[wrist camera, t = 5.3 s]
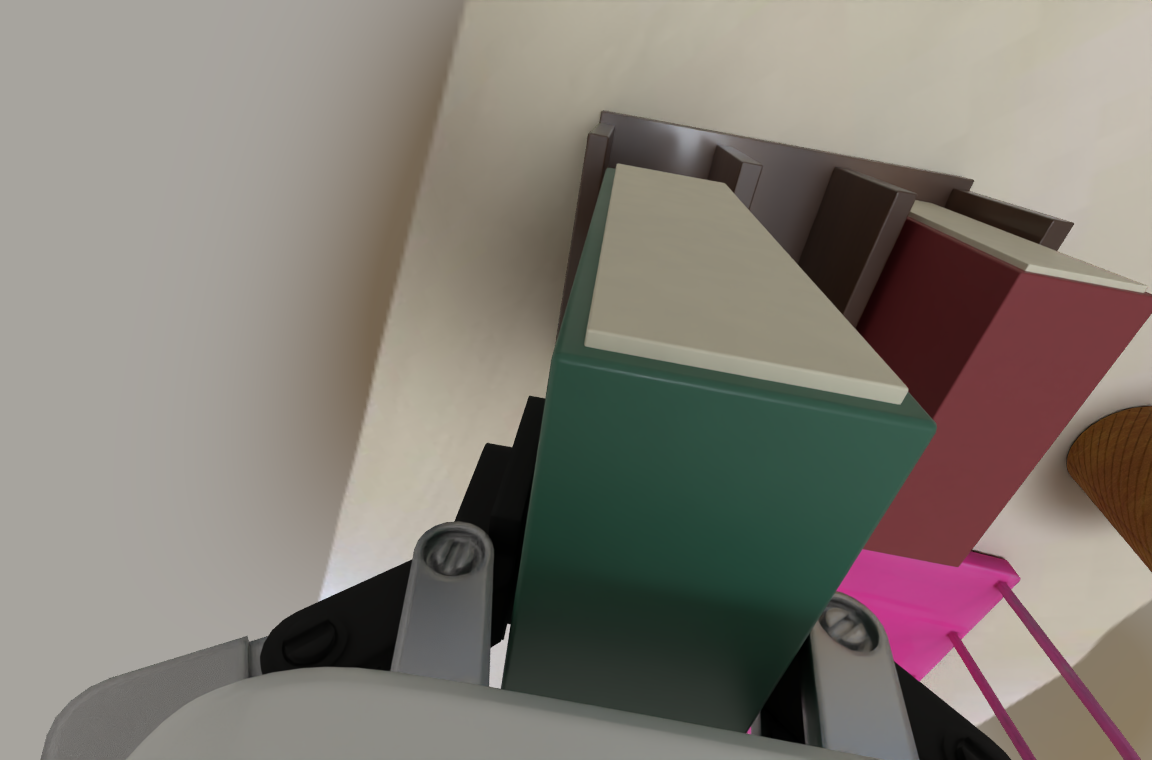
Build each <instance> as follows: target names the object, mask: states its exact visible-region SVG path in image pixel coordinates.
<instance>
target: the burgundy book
mask: <svg viewBox="0 0 1152 760" xmlns="http://www.w3.org/2000/svg"><path fill="white" fill-rule="evenodd" d="M1147 288H1148V286H1146V285H1144V284H1141V283H1138V282H1136V281H1133V280H1131V279H1128V278H1125V277H1123V276H1120V275H1118V274H1115V273H1112V272H1110V271H1107V270H1105V269H1102V268H1099V267H1097V266H1094V265H1092V264H1089V263H1086V262H1084V261H1081V260H1079V259H1076V258H1073V257H1071V256H1068V255H1065V254H1063V253H1060V252H1058V251H1055V250H1052V249H1050V248H1047V247H1045V246H1042V245H1039V244H1037V243H1034V242H1032V241H1029V240H1026V239H1024V238H1021V237H1019V236H1016V235H1013V234H1011V233H1008V232H1006V231H1003V230H1000V229H998V228H995V227H993V226H990V225H987V224H985V223H982V222H980V221H977V220H974V219H972V218H969V217H967V216H964V215H961V214H959V213H956V212H953V211H951V210H948V209H946V208H943V207H940V206H938V205H935V204H933V203H929V202H923V201H918V200H915V202H914V204H913V206H912V209H911V211H910V213H909V215H908V217H907V219H906V221H905V224H904V226H903V228H902V230H901V232H900V234H899V236H898V239H897V241H896V243H895V245H894V247H893V249H892V251H891V254H890V256H889V258H888V260H887V262H886V264H885V267H884V269H883V271H882V273H881V275H880V277H879V279H878V282H877V284H876V286H875V288H874V290H873V292H872V294H871V297H870V299H869V301H868V303H867V305H866V307H865V309H864V312H863V314H862V316H861V318H860V320H859V322H858V324H857V327H856V330H857V331H858V333H859V334H860V335H861V336H862V337H863V338H864V339H865V340H866V341H867V343H868V344H869V345H870V346H871V347H872V348H873V349H874V350H875V352H876V353H877V354H878V355H879V356H880V357H881V358H882V359H883V360H884V362H885V363H886V364H887V365H888V366H889V367H890V368H891V369H892V370H893V372H894V373H895V374H896V375H897V376H898V377H899V378H900V379H901V381H902V382H903V383H904V384H905V385H906V386H907V387H908V392H909V393H910V394H911V395H912V396H913V398H914V399H915V400H916V401H917V402H918V403H919V404H920V405H921V407H922V408H923V409H924V410H925V411H926V412H927V413H928V414H929V416H930V417H931V418H932V419H933V420H934V421H935V422H936V425H937V430H936V433H935V435H934V436H933V438H932V440H931V441H930V443H929V444H928V446H927V448H926V449H925V451H924V452H923V454H922V455H921V457H920V459H919V460H918V462H917V463H916V465H915V467H914V468H913V470H912V471H911V473H910V474H909V476H908V478H907V479H906V481H905V482H904V484H903V486H902V487H901V489H900V490H899V492H898V494H897V495H896V497H895V498H894V500H893V501H892V503H891V505H890V506H889V508H888V509H887V511H886V513H885V514H884V516H883V517H882V519H881V521H880V522H879V524H878V525H877V527H876V528H875V530H874V532H873V533H872V535H871V536H870V538H869V540H868V541H867V543H866V544H865V546H864V548H863V549H864V550H869V551H874V552H880V553H885V554H890V555H895V556H901V557H906V558H911V559H916V560H921V561H927V562H932V563H937V564H942V565H947V566H953V567H959V566H960V565H961V563H962V562H963V561H964V559H965V558H966V557H967V555H968V554H969V553H970V551H971V550H972V549H973V547H974V546H975V545H976V544H977V542H978V541H979V540H980V538H981V537H982V536H983V534H984V533H985V532H986V530H987V529H988V528H989V526H990V525H991V524H992V523H993V521H994V520H995V519H996V517H997V516H998V515H999V513H1000V512H1001V511H1002V509H1003V508H1004V507H1005V505H1006V504H1007V503H1008V501H1009V500H1010V499H1011V498H1012V496H1013V495H1014V494H1015V492H1016V491H1017V490H1018V488H1019V487H1020V486H1021V484H1022V483H1023V482H1024V480H1025V479H1026V478H1027V477H1028V475H1029V474H1030V473H1031V471H1032V470H1033V469H1034V467H1035V466H1036V465H1037V463H1038V462H1039V461H1040V459H1041V458H1042V457H1043V456H1044V454H1045V453H1046V452H1047V450H1048V449H1049V448H1050V446H1051V445H1052V444H1053V442H1054V441H1055V440H1056V438H1057V437H1058V436H1059V435H1060V433H1061V432H1062V431H1063V429H1064V428H1065V427H1066V425H1067V424H1068V423H1069V421H1070V420H1071V419H1072V417H1073V416H1074V415H1075V413H1076V412H1077V411H1078V410H1079V408H1080V407H1081V406H1082V404H1083V403H1084V402H1085V400H1086V399H1087V398H1088V396H1089V395H1090V394H1091V392H1092V391H1093V390H1094V389H1095V387H1096V386H1097V385H1098V383H1099V382H1100V381H1101V379H1102V378H1103V377H1104V375H1105V374H1106V373H1107V371H1108V370H1109V369H1110V368H1111V366H1112V365H1113V364H1114V362H1115V361H1116V360H1117V358H1118V357H1119V356H1120V354H1121V353H1122V352H1123V350H1124V349H1125V348H1126V347H1127V345H1128V344H1129V343H1130V341H1131V340H1132V339H1133V337H1134V336H1135V335H1136V333H1137V332H1138V331H1139V329H1140V328H1141V327H1142V325H1143V324H1144V323H1145V322H1146V320H1147V319H1148V318H1149V316H1150V315H1151V314H1152V294H1150V293H1147V292H1145V291H1146V289H1147Z"/></svg>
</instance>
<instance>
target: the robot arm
mask: <svg viewBox="0 0 1152 760" xmlns="http://www.w3.org/2000/svg"><path fill="white" fill-rule="evenodd" d="M544 405H545V398H539V397H534V396H529V398H528V400H527V404H526V407H525V410H524V413H523V416H522V419H521V422H520V425H519V428H518V432H517V435H516V438H515V441H514V444H513V447H507V446H501V445H496V444H490V443H486V444H485V447H484V449H483V451H482V454H481V456H480V459H479V461H478V464H477V466H476V469H475V471H474V474H473V476H472V479H471V481H470V484H469V486H468V489H467V491H466V494H465V496H464V499H463V501H462V504H461V506H460V509H459V511H458V514H457V516H456V519H455V521H454V522H446V523H443V524H440V525H437V526H434V527H433V528H431V529H429V530H428V531H426V532H425V533H424V534H423V535H422V536H421V538H420V539H419V540H418V542H417V544H416V547H415V549H414V554H413V559H412V560H410V561H408V562H405V563H403V564H401V565H399V566H397V567H394V568H392V569H390V570H388V571H386V572H383V573H381V574H379V575H377V576H375V577H372V578H370V579H368V580H366V581H364V582H361V583H359V584H357V585H355V586H353V587H350V588H348V589H346V590H344V591H342V592H339V593H337V594H335V595H333V596H331V597H328V598H326V599H324V600H322V601H320V602H318V603H315V604H313V605H311V606H309V607H306V608H304V609H302V610H300V611H298V612H296V613H294V614H293V615H291V616H289V617H287V618H286V619H284V620H283V621H282V622H281V623H280V624H279V625H277V626H276V627H275V628H274V629H273V630H272V631H271V633H270V634H269V636H266V637H264V638H260V639H257V640H254V641H251V642H249V640H248V637H247V636H246V637H242V638H239V639H236V640H232V641H229V642H226V643H223V644H219V645H216V646H213V647H210V648H206V649H204V650H200V651H197V652H194V653H190V654H187V655H184V656H180V657H177V658H174V659H171V660H167V661H164V662H161V663H158V664H154V665H151V666H148V667H145V668H141V669H138V670H135V671H132V672H128V673H125V674H122V675H119V676H115V677H112V678H109V679H108V680H105V681H103V682H100V683H98V684H96V685H94V686H91V687H89V688H88V689H87V690H85V691H84V692H83V693H81V694H80V695H78V696H77V697H75V698H74V699H73V700H71V701H70V702H69V703H68V704H67V706H66V707H65V708H64V709H63V710H62V711H61V712H60V714H58V716H57V717H56V718H55V720H54V722H53V724H52V726H51V728H50V730H49V732H48V734H47V737H46V741H45V745H44V749H43V752H42V756H41V760H1011V759H1010V758H1009V756H1008V755H1007V754H1006V753H1005V752H1004V751H1003V750H1002V749H1001V748H1000V747H999V746H998V745H996V743H995V742H993V741H992V740H991V739H990V738H989V737H987V736H986V735H985V734H984V733H983V732H981V731H980V730H979V729H978V728H976V727H975V726H974V725H973V724H971V723H970V722H969V721H968V720H967V719H965V718H964V717H963V716H962V715H960V714H959V713H958V712H957V711H955V710H954V709H953V708H952V707H950V706H949V705H948V704H947V703H945V702H944V701H943V700H942V699H940V698H939V697H938V696H937V695H936V694H934V693H933V692H932V691H931V690H929V689H928V688H927V687H926V686H924V685H923V684H922V683H921V682H919V681H918V680H917V679H916V678H914V677H913V676H912V675H911V674H909V673H908V672H907V671H906V670H905V669H903V668H902V667H901V666H900V665H898V664H897V663H896V662H895V661H894V659H893V655H892V651H891V648H890V644H889V640H888V636H887V634H886V632H885V629H884V627H883V625H882V624H881V622H880V621H879V620H878V618H877V617H876V615H875V614H874V613H873V612H871V611H870V610H869V609H868V608H867V607H866V606H865V605H864V604H862V603H861V602H859V601H858V600H856V599H855V598H853V597H851V596H849V595H847V594H844V593H842V592H838V591H836V592H835V594H834V595H833V597H832V598H831V600H830V602H829V603H828V605H827V606H826V608H825V609H824V611H823V613H822V614H821V616H820V617H819V619H818V621H817V622H816V624H815V625H814V627H813V629H812V630H811V632H810V633H809V635H808V636H807V638H806V640H805V641H804V643H803V644H802V646H801V648H800V649H799V651H798V652H797V654H796V656H795V657H794V659H793V660H792V662H791V663H790V665H789V667H788V668H787V670H786V671H785V673H784V675H783V676H782V678H781V679H780V681H779V683H778V684H777V686H776V687H775V689H774V690H773V692H772V694H771V695H770V697H769V698H768V700H767V702H766V703H765V705H764V706H763V708H762V709H761V711H760V713H759V714H758V716H757V717H756V719H755V721H754V722H753V724H752V725H751V734H746V733H740V732H735V731H729V730H724V729H719V728H713V727H708V726H702V725H697V724H692V723H686V722H681V721H675V720H670V719H664V718H659V717H654V716H648V715H643V714H637V713H632V712H626V711H621V710H615V709H610V708H605V707H599V706H593V705H588V704H582V703H577V702H571V701H565V700H560V699H554V698H549V697H543V696H537V695H532V694H526V693H521V692H515V691H509V690H504V689H498V688H493V687H489V672H490V648H491V647H493V646H494V645H496V644H498V643H499V642H501V639H502V640H504V636H505V631H506V627H507V624H511V620H512V613H513V607H514V600H515V594H516V587H517V581H518V574H519V568H520V561H521V555H522V548H523V542H524V535H525V529H526V522H527V516H528V509H529V503H530V496H531V490H532V483H533V477H534V470H535V464H536V457H537V450H538V444H539V437H540V431H541V424H542V418H543V411H544Z"/></svg>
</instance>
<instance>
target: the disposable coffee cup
mask: <svg viewBox="0 0 1152 760" xmlns="http://www.w3.org/2000/svg"><path fill="white" fill-rule="evenodd" d="M1067 469H1068V472H1069V474H1070V475H1071V477H1072V478H1073V479H1074V480H1075V481H1076V482H1077V484H1078V485H1079V486H1080V487H1081V488H1082V490H1083V491H1084V492H1085V493H1086V494H1087V495H1088V497H1089V498H1090V499H1091V500H1092V502H1093V503H1094V504H1095V505H1096V506H1097V507H1098V509H1099V510H1100V511H1101V512H1102V513H1103V515H1104V516H1105V517H1106V518H1107V519H1108V521H1109V522H1110V523H1111V524H1112V526H1113V527H1114V528H1115V529H1116V530H1117V531H1118V533H1119V534H1120V535H1121V536H1122V537H1123V538H1124V540H1125V541H1126V542H1127V543H1128V544H1129V545H1130V547H1131V548H1132V549H1133V550H1134V552H1135V553H1136V554H1137V555H1138V556H1139V558H1140V559H1141V560H1142V561H1143V562H1144V564H1145V565H1146V566H1147V567H1148V568H1149V570H1150V571H1151V572H1152V406H1147V407H1137V408H1131V409H1127V410H1123V411H1120V412H1117V413H1114V414H1112V415H1110V416H1108V417H1105V418H1103V419H1101V420H1100V421H1098V422H1097V423H1095V424H1093V425H1092V426H1090V427H1089V428H1088V429H1087V430H1086V431H1084V432H1083V433H1082V434H1081V435H1080V436H1079V438H1078V439H1077V440H1076V441H1075V442H1074V444H1073V445H1072V447H1071V449H1070V451H1069V454H1068V456H1067Z"/></svg>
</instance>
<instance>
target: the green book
mask: <svg viewBox="0 0 1152 760" xmlns="http://www.w3.org/2000/svg"><path fill="white" fill-rule="evenodd" d="M936 430H937V425H936V422H935V421H934V420H933V419H932V418H931V417H930V416H929V414H928V413H927V412H926V411H925V410H924V409H923V408H922V407H921V405H920V404H919V403H918V402H917V401H916V400H915V399H914V398H913V396H912V395H911V394H910V393H909V392H908V387H907V386H906V385H905V384H904V383H903V382H902V381H901V379H900V378H899V377H898V376H897V375H896V374H895V373H894V372H893V370H892V369H891V368H890V367H889V366H888V365H887V364H886V363H885V362H884V360H883V359H882V358H881V357H880V356H879V355H878V354H877V353H876V352H875V350H874V349H873V348H872V347H871V346H870V345H869V344H868V343H867V341H866V340H865V339H864V338H863V337H862V336H861V335H860V334H859V333H858V331H857V330H856V329H855V328H854V327H853V326H852V325H851V324H850V322H849V321H848V320H847V319H846V318H845V317H844V316H843V315H842V314H841V312H840V311H839V310H838V309H837V308H836V307H835V306H834V305H833V303H832V302H831V301H830V300H829V299H828V298H827V297H826V296H825V295H824V293H823V292H822V291H821V290H820V289H819V288H818V287H817V286H816V284H815V283H814V282H813V281H812V280H811V279H810V278H809V277H808V276H807V274H806V273H805V272H804V271H803V270H802V269H801V268H800V267H799V265H798V264H797V263H796V262H795V261H794V260H793V259H792V258H791V257H790V255H789V254H788V253H787V252H786V251H785V250H784V249H783V248H782V246H781V245H780V244H779V243H778V242H777V241H776V240H775V239H774V238H773V236H772V235H771V234H770V233H769V232H768V231H767V230H766V229H765V227H764V226H763V225H762V224H761V223H760V222H759V221H758V220H757V219H756V217H755V216H754V215H753V214H752V213H751V212H750V211H749V210H748V208H747V207H746V206H745V205H744V204H743V203H742V202H741V201H740V200H739V198H738V197H737V196H736V195H735V194H734V193H733V192H732V191H731V190H730V188H729V187H728V186H727V185H726V184H725V183H721V182H716V181H710V180H705V179H699V178H694V177H689V176H683V175H678V174H672V173H667V172H661V171H656V170H651V169H645V168H640V167H634V166H629V165H624V164H617V165H616V169H613V168H607V169H606V171H605V175H604V178H603V181H602V185H601V188H600V192H599V195H598V199H597V202H596V206H595V209H594V213H593V216H592V220H591V223H590V227H589V230H588V234H587V237H586V241H585V244H584V248H583V251H582V254H581V258H580V261H579V265H578V268H577V272H576V275H575V279H574V282H573V286H572V289H571V293H570V296H569V300H568V303H567V307H566V310H565V314H564V317H563V320H562V324H561V327H560V331H559V334H558V338H557V341H556V345H555V348H554V352H553V355H552V359H551V366H550V372H549V379H548V385H547V392H546V398H545V405H544V411H543V418H542V424H541V431H540V437H539V444H538V450H537V457H536V464H535V470H534V477H533V483H532V490H531V496H530V503H529V509H528V516H527V522H526V529H525V535H524V542H523V548H522V555H521V561H520V568H519V574H518V581H517V587H516V594H515V600H514V607H513V613H512V620H511V626H510V633H509V639H508V646H507V652H506V659H505V665H504V672H503V678H502V685H501V689H504V690H509V691H515V692H521V693H526V694H532V695H537V696H543V697H549V698H554V699H560V700H565V701H571V702H577V703H582V704H588V705H593V706H599V707H605V708H610V709H615V710H621V711H626V712H632V713H637V714H643V715H648V716H654V717H659V718H664V719H670V720H675V721H681V722H686V723H692V724H697V725H702V726H708V727H713V728H719V729H724V730H729V731H735V732H740V733H747V732H748V730H749V729H750V727H751V725H752V724H753V722H754V721H755V719H756V717H757V716H758V714H759V713H760V711H761V709H762V708H763V706H764V705H765V703H766V702H767V700H768V698H769V697H770V695H771V694H772V692H773V690H774V689H775V687H776V686H777V684H778V683H779V681H780V679H781V678H782V676H783V675H784V673H785V671H786V670H787V668H788V667H789V665H790V663H791V662H792V660H793V659H794V657H795V656H796V654H797V652H798V651H799V649H800V648H801V646H802V644H803V643H804V641H805V640H806V638H807V636H808V635H809V633H810V632H811V630H812V629H813V627H814V625H815V624H816V622H817V621H818V619H819V617H820V616H821V614H822V613H823V611H824V609H825V608H826V606H827V605H828V603H829V602H830V600H831V598H832V597H833V595H834V594H835V592H836V590H837V589H838V587H839V586H840V584H841V582H842V581H843V579H844V578H845V576H846V575H847V573H848V571H849V570H850V568H851V567H852V565H853V563H854V562H855V560H856V559H857V557H858V555H859V554H860V552H861V551H862V549H863V548H864V546H865V544H866V543H867V541H868V540H869V538H870V536H871V535H872V533H873V532H874V530H875V528H876V527H877V525H878V524H879V522H880V521H881V519H882V517H883V516H884V514H885V513H886V511H887V509H888V508H889V506H890V505H891V503H892V501H893V500H894V498H895V497H896V495H897V494H898V492H899V490H900V489H901V487H902V486H903V484H904V482H905V481H906V479H907V478H908V476H909V474H910V473H911V471H912V470H913V468H914V467H915V465H916V463H917V462H918V460H919V459H920V457H921V455H922V454H923V452H924V451H925V449H926V448H927V446H928V444H929V443H930V441H931V440H932V438H933V436H934V435H935V433H936Z"/></svg>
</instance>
